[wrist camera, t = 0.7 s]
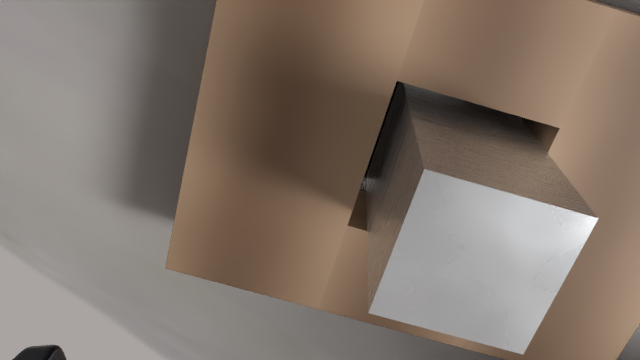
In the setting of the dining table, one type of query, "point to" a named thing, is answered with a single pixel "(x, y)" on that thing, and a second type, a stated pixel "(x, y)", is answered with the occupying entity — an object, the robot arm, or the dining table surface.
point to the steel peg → (467, 221)
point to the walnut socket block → (362, 131)
